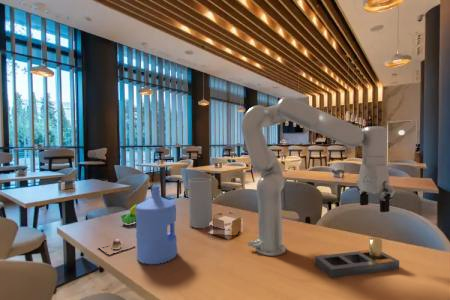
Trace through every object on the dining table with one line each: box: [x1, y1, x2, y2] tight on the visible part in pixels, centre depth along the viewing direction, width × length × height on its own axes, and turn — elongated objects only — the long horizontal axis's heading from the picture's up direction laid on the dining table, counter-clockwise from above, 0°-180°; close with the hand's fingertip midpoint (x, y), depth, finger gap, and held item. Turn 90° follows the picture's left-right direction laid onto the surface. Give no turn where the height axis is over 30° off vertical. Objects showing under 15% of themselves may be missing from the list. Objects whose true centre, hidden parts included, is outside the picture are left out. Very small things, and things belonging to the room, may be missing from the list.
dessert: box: [111, 238, 122, 248], centre depth 113 cm, size 12×12×5 cm
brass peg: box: [368, 237, 383, 261], centre depth 93 cm, size 4×4×9 cm
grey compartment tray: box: [314, 249, 400, 280], centre depth 92 cm, size 26×10×3 cm, turn 101°
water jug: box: [135, 185, 178, 265], centre depth 103 cm, size 16×16×28 cm
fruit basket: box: [120, 203, 139, 224], centre depth 146 cm, size 11×9×11 cm
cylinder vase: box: [187, 177, 213, 229], centre depth 140 cm, size 12×12×25 cm
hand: (373, 208), depth 93 cm, fingers open, 9 cm apart
